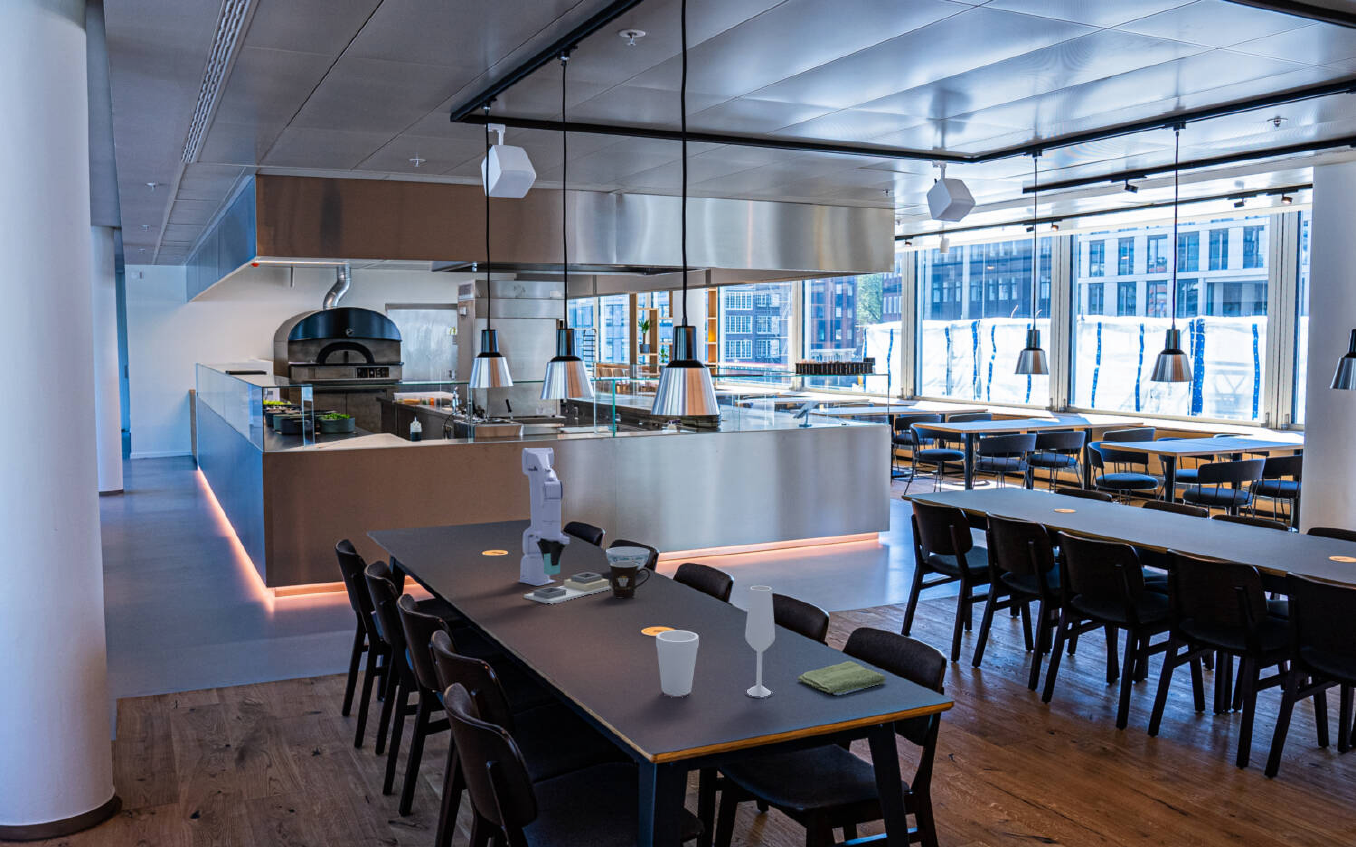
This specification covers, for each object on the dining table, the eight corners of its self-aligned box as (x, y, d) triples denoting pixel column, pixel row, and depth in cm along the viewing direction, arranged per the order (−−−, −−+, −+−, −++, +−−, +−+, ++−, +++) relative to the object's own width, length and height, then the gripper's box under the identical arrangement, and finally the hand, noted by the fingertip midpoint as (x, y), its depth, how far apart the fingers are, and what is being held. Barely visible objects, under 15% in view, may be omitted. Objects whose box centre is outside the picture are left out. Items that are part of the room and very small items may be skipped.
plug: (543, 573, 313) (543, 554, 313) (553, 571, 316) (553, 552, 315) (550, 575, 311) (550, 555, 311) (560, 573, 314) (560, 553, 313)
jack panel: (524, 597, 313) (524, 583, 313) (584, 583, 333) (584, 570, 333) (551, 604, 306) (551, 589, 305) (611, 589, 326) (611, 575, 326)
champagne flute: (771, 688, 233) (774, 584, 231) (775, 698, 226) (778, 591, 224) (742, 688, 232) (744, 584, 231) (745, 698, 226) (747, 591, 224)
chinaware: (652, 569, 357) (652, 547, 357) (646, 578, 342) (646, 555, 342) (609, 567, 359) (609, 546, 358) (602, 576, 344) (602, 554, 343)
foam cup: (696, 686, 233) (697, 630, 233) (698, 700, 224) (699, 642, 223) (655, 686, 233) (655, 630, 232) (655, 699, 224) (656, 641, 223)
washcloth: (794, 683, 238) (794, 669, 238) (851, 671, 248) (851, 658, 247) (832, 700, 227) (832, 685, 227) (890, 686, 237) (890, 673, 237)
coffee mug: (604, 597, 316) (605, 565, 315) (619, 591, 324) (619, 560, 323) (637, 601, 311) (637, 569, 310) (651, 596, 318) (651, 564, 318)
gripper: (577, 521, 310) (576, 566, 311) (545, 516, 320) (545, 559, 321) (559, 524, 305) (559, 569, 306) (528, 518, 315) (528, 562, 316)
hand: (551, 564), depth 313 cm, fingers closed on plug, 3 cm apart
